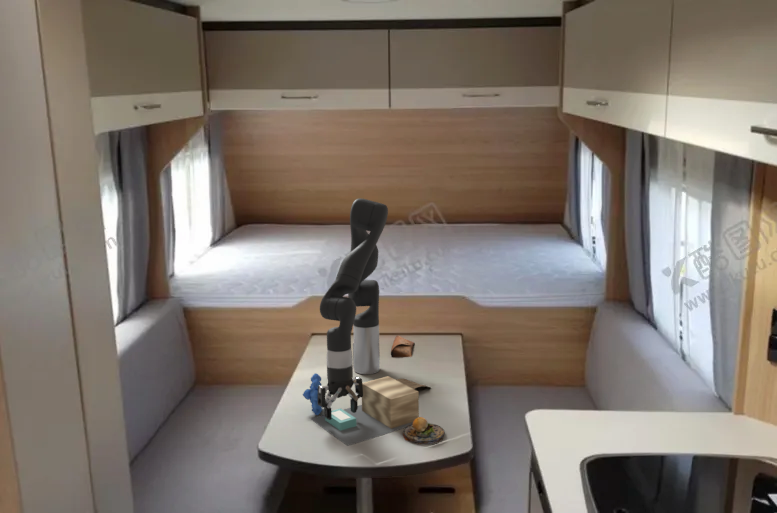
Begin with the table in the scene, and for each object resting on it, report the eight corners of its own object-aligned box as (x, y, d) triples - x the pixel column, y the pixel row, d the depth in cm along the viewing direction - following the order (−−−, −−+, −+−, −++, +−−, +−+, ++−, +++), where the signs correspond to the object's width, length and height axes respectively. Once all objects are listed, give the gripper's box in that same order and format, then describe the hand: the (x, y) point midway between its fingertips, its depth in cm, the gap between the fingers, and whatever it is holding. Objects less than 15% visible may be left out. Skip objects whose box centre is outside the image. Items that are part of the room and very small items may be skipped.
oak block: (362, 410, 215) (361, 383, 213) (388, 403, 220) (388, 376, 219) (391, 428, 202) (390, 399, 200) (418, 420, 207) (418, 391, 206)
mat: (310, 419, 209) (310, 418, 209) (381, 399, 224) (381, 399, 224) (347, 446, 192) (347, 445, 191) (422, 423, 206) (422, 422, 206)
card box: (325, 420, 208) (324, 412, 208) (340, 415, 211) (340, 408, 211) (340, 430, 201) (340, 422, 200) (356, 425, 204) (356, 418, 204)
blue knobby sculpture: (303, 405, 220) (301, 369, 218) (324, 404, 221) (323, 368, 219) (302, 420, 209) (301, 382, 207) (325, 419, 210) (324, 381, 208)
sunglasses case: (413, 357, 264) (403, 342, 263) (397, 365, 265) (388, 351, 264) (415, 342, 282) (406, 328, 281) (400, 350, 283) (391, 337, 282)
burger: (450, 443, 193) (450, 418, 192) (410, 449, 190) (410, 423, 189) (435, 425, 205) (435, 401, 203) (397, 431, 201) (397, 407, 200)
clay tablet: (403, 403, 222) (402, 394, 221) (376, 394, 229) (376, 386, 229) (434, 389, 234) (434, 380, 233) (408, 381, 241) (408, 373, 241)
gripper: (353, 355, 209) (355, 405, 212) (311, 364, 202) (313, 417, 204) (367, 361, 203) (368, 413, 206) (324, 371, 195) (326, 425, 198)
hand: (341, 415), depth 205 cm, fingers open, 8 cm apart
